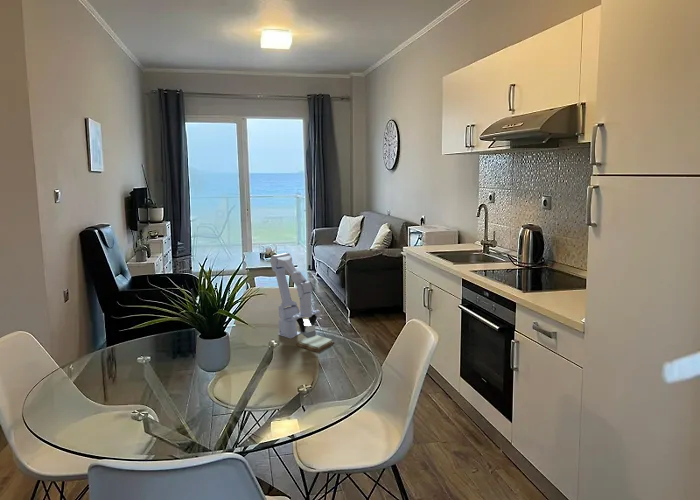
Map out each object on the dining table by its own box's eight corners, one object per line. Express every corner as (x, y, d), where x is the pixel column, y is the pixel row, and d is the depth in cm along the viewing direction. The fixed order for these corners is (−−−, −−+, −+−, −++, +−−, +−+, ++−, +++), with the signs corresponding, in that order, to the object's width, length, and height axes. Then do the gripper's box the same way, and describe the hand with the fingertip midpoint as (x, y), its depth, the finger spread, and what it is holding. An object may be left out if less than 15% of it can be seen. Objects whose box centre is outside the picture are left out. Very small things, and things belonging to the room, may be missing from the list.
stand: (296, 345, 261) (296, 341, 261) (313, 336, 271) (312, 332, 271) (318, 352, 253) (317, 348, 253) (334, 342, 263) (334, 339, 263)
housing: (307, 338, 254) (307, 326, 252) (299, 332, 261) (298, 321, 260) (315, 335, 256) (315, 324, 254) (307, 329, 263) (306, 319, 262)
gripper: (296, 310, 248) (297, 336, 251) (322, 304, 255) (323, 329, 259) (289, 306, 254) (291, 331, 257) (315, 300, 261) (316, 325, 265)
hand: (306, 330), depth 258 cm, fingers closed on housing, 4 cm apart
